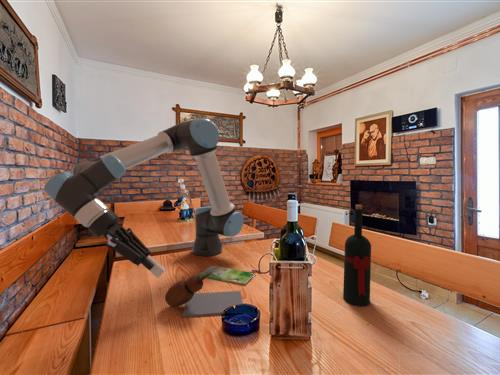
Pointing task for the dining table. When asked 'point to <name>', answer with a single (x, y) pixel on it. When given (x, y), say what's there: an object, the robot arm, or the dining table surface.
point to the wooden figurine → (184, 290)
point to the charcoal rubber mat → (211, 303)
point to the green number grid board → (228, 275)
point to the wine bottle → (357, 265)
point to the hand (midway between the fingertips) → (161, 273)
